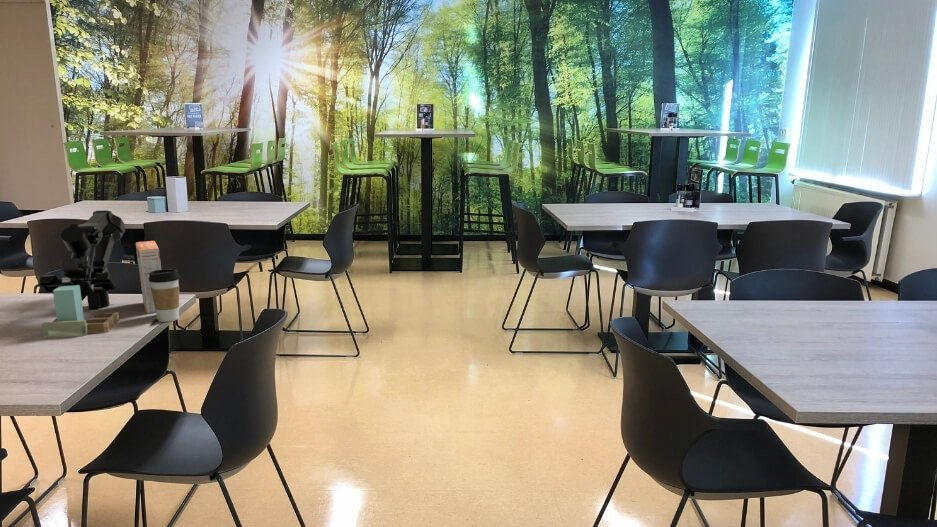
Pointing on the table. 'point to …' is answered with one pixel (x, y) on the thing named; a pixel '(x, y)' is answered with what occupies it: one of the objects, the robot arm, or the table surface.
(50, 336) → the trap channel
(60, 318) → the block
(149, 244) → the cracker box
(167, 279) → the coffee cup
